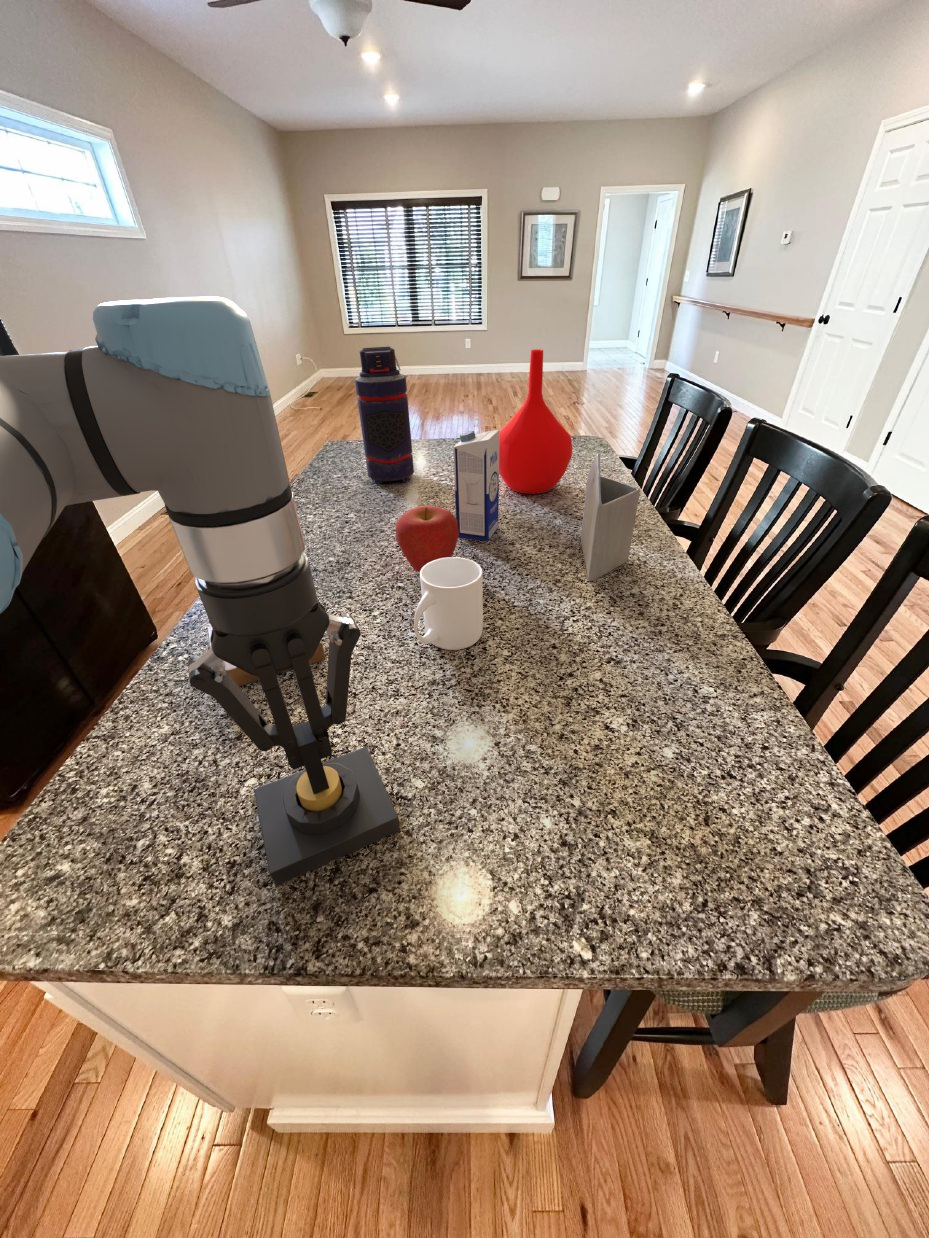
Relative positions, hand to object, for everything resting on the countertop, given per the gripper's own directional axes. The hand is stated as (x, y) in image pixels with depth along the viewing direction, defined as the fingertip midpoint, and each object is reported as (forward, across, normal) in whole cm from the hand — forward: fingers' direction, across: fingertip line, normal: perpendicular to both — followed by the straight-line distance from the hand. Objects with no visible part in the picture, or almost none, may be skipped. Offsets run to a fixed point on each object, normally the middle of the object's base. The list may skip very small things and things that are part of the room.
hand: (318, 780), depth 49 cm
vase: (+6, -67, -67) cm, 95 cm away
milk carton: (+6, -44, -51) cm, 68 cm away
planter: (+6, -59, -29) cm, 66 cm away
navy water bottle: (+6, -40, -92) cm, 100 cm away
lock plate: (+6, +1, -31) cm, 32 cm away
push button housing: (+6, 0, 0) cm, 6 cm away
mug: (+6, -23, -21) cm, 32 cm away
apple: (+6, -29, -41) cm, 50 cm away
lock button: (+2, 0, 0) cm, 2 cm away
